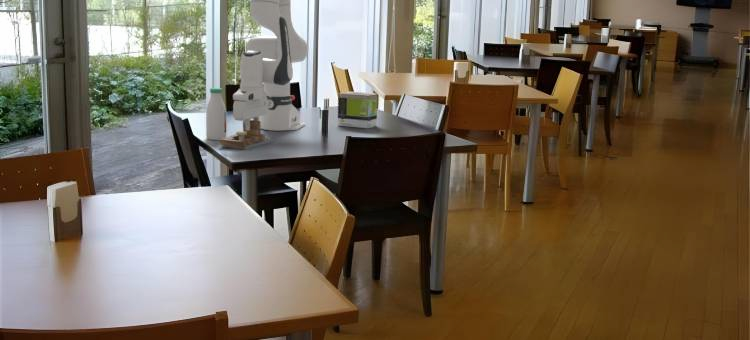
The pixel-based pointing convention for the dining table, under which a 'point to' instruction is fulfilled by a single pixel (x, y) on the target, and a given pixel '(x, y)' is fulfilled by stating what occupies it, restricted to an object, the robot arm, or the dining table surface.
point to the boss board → (241, 136)
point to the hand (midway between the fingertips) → (251, 129)
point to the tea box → (357, 109)
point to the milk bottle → (216, 116)
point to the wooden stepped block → (245, 136)
